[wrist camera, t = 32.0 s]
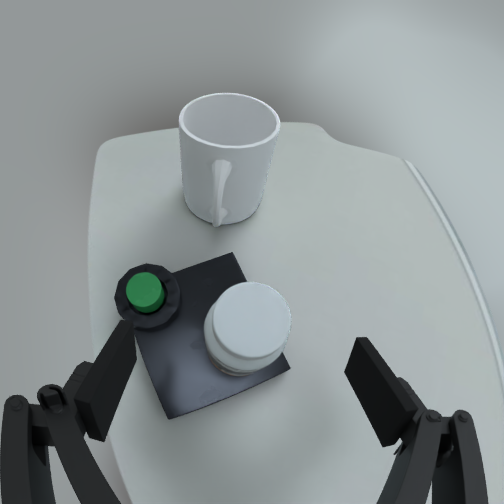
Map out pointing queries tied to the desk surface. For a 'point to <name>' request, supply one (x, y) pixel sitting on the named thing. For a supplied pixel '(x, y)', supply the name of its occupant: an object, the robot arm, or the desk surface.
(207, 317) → the pill bottle
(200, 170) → the mug
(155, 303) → the tare button
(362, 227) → the desk surface
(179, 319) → the scale
